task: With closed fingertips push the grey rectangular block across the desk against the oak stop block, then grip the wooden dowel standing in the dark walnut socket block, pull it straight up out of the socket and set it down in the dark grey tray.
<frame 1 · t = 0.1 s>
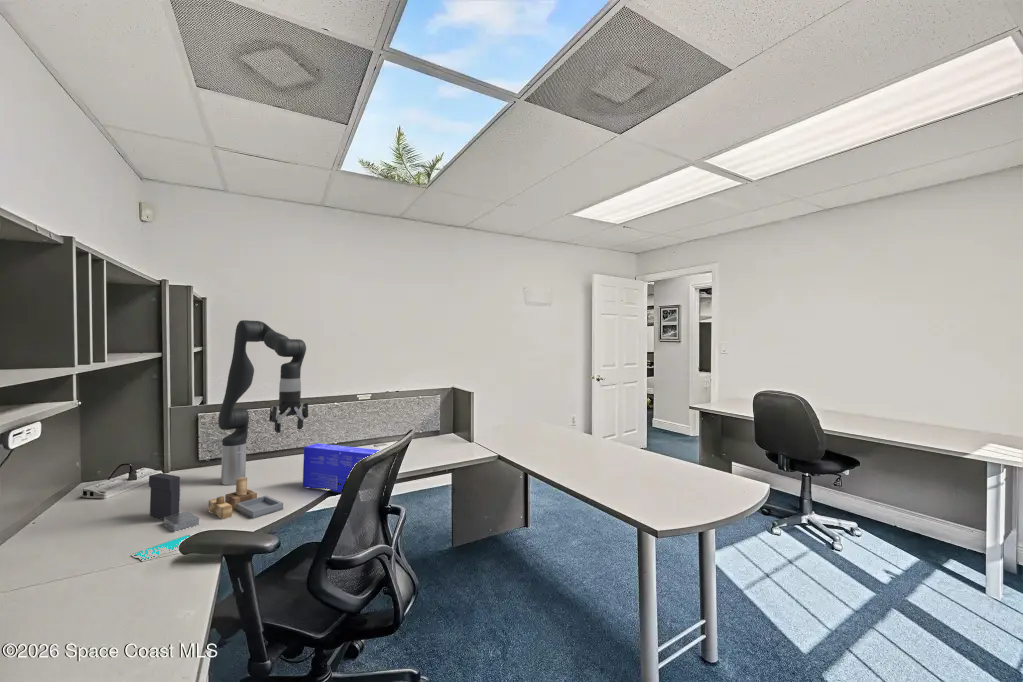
hand: (289, 430, 168), 29 cm above the table, tool pointing down, fingers open, 8 cm apart
dowel: (241, 491, 168), in the socket block
socket block: (241, 504, 168), on the table
tall lidded box: (164, 517, 154), on the table
stop block: (219, 513, 158), on the table
tray: (259, 509, 163), on the table
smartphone: (166, 550, 132), on the table
toner cartridge box: (345, 491, 186), on the table
grey rectangular block: (181, 526, 148), on the table
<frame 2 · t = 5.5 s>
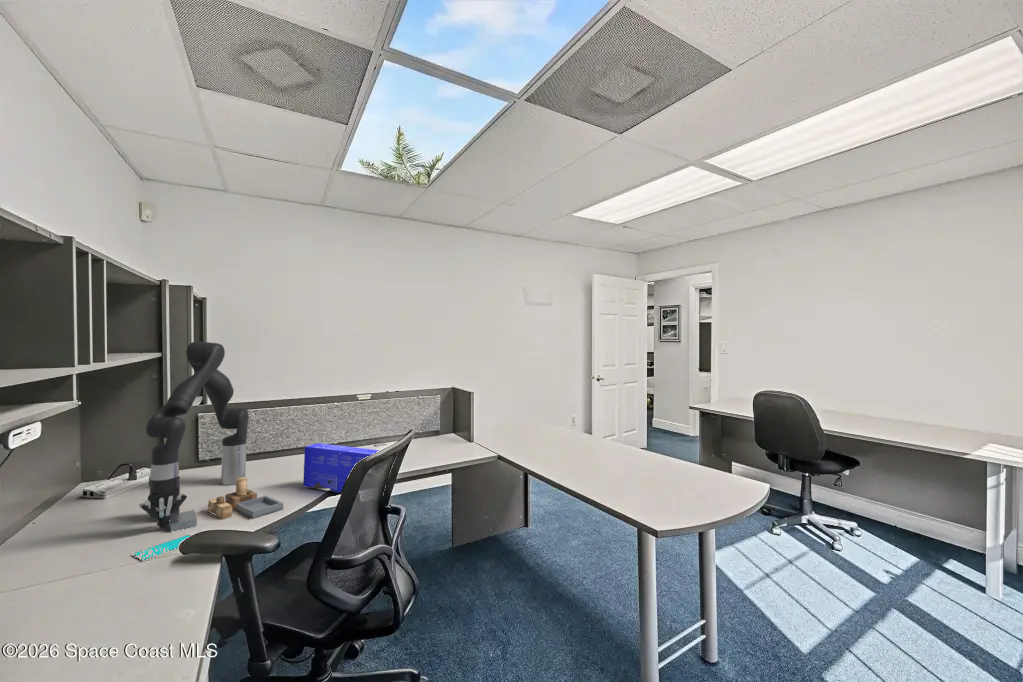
hand: (163, 527, 144), 1 cm above the table, tool pointing down, fingers closed
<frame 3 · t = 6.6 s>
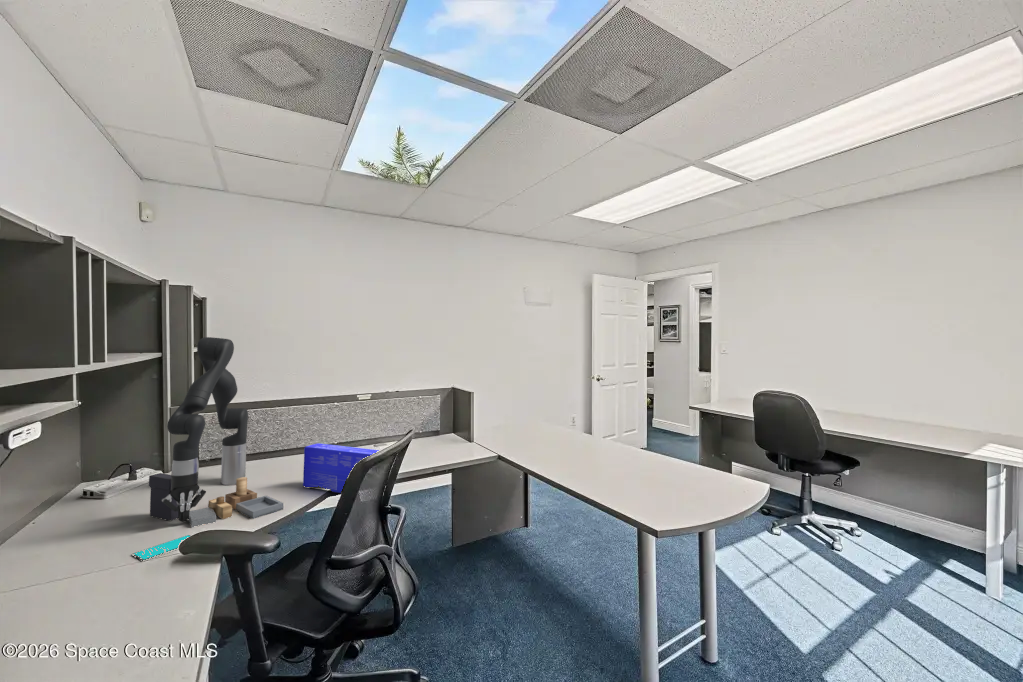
hand: (183, 521, 149), 1 cm above the table, tool pointing down, fingers closed
grey rectangular block: (201, 521, 153), on the table, touching gripper
everything else where it was.
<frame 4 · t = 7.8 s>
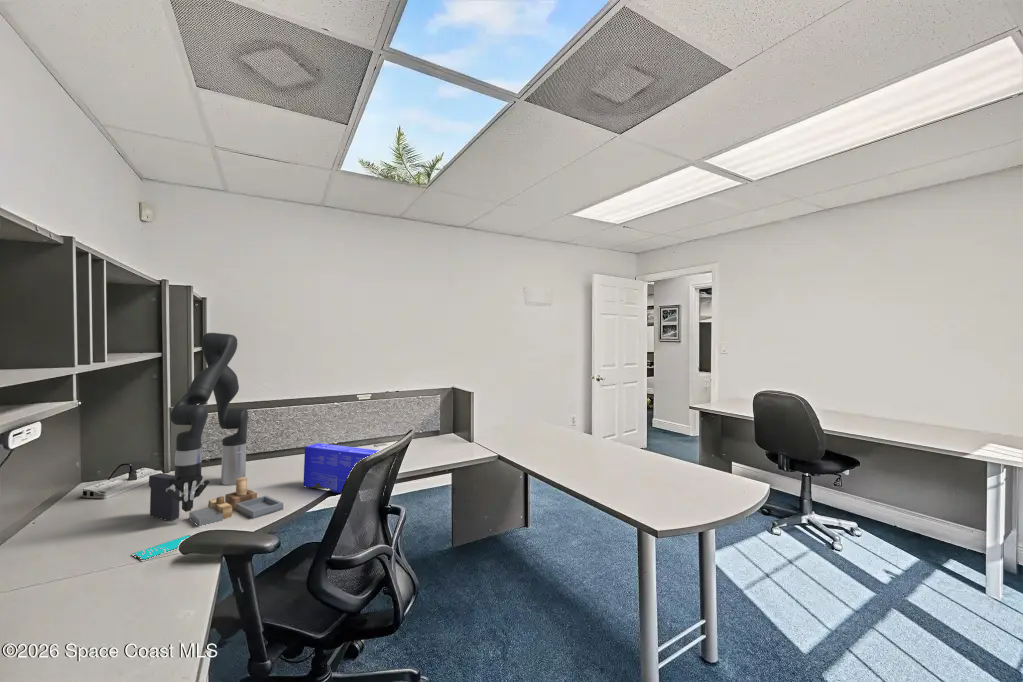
hand: (187, 510, 150), 4 cm above the table, tool pointing down, fingers closed
grey rectangular block: (205, 521, 153), on the table
everything else where it was.
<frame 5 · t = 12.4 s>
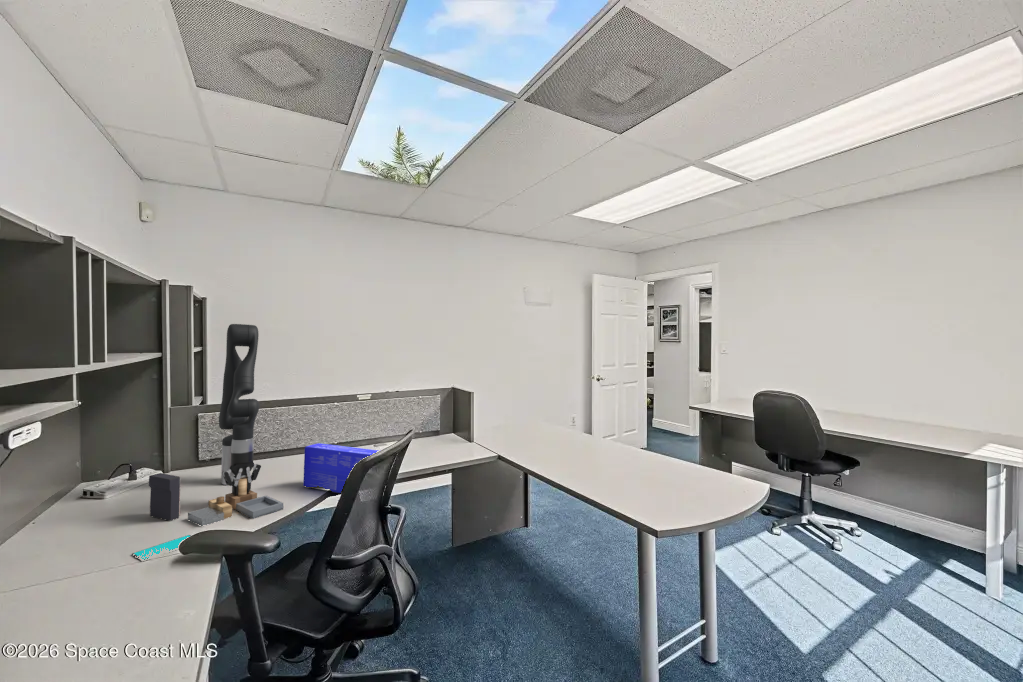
hand: (241, 493, 168), 4 cm above the table, tool pointing down, fingers closed on dowel, 3 cm apart
dowel: (241, 491, 168), in the socket block, touching gripper
everything else where it was.
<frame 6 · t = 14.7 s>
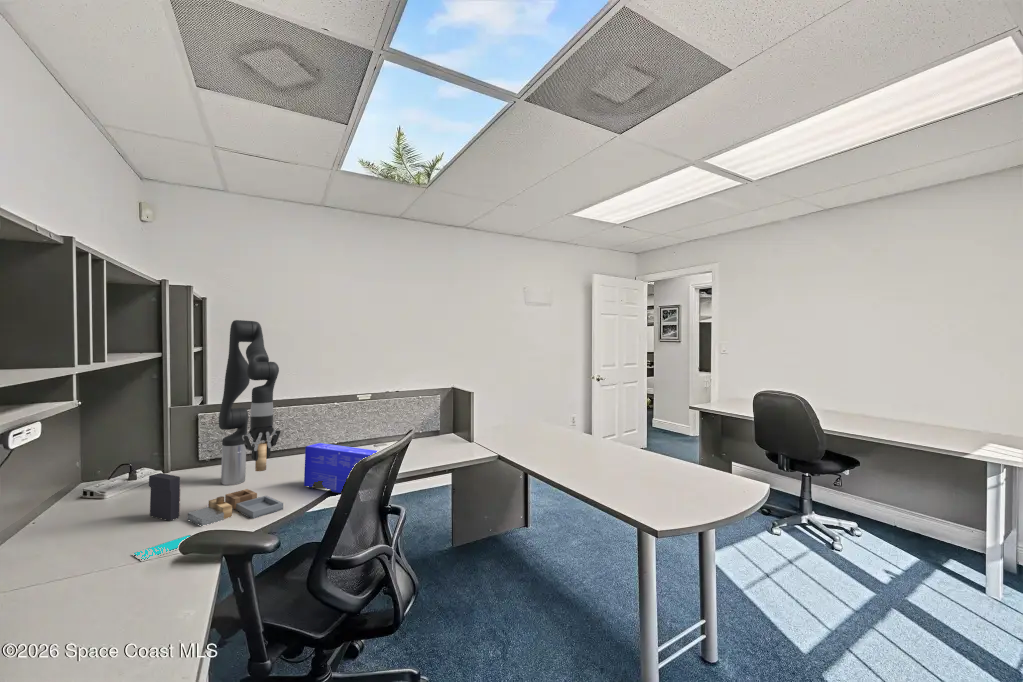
hand: (260, 458, 163), 19 cm above the table, tool pointing down, fingers closed on dowel, 3 cm apart
dowel: (261, 456, 163), point 20 cm above the table, touching gripper
everything else where it was.
when the fingers open (6 cm above the table, at t = 17.0 s): dowel drops 1 cm, resting on tray.
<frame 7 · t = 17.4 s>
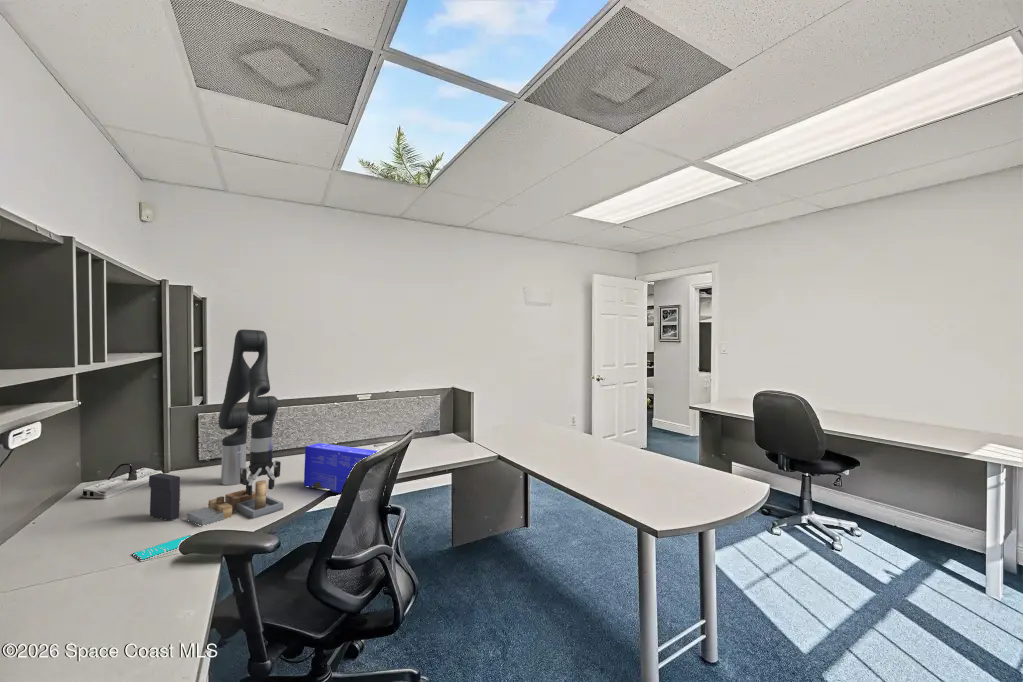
hand: (260, 491, 163), 7 cm above the table, tool pointing down, fingers open, 7 cm apart
dowel: (260, 495, 163), in the tray, point 6 cm above the table
everything else where it was.
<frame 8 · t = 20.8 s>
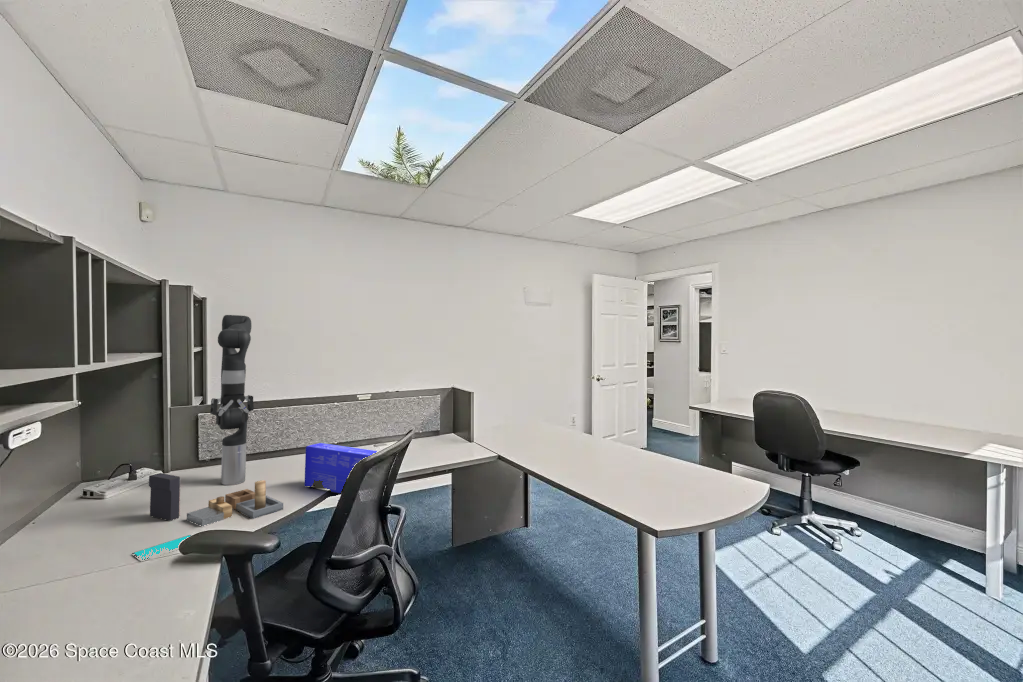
hand: (232, 423, 165), 32 cm above the table, tool pointing down, fingers open, 8 cm apart
at the end: dowel inside the target area on the tray (0.1 cm from its centre), point 5.6 cm above the tray's base; the gripper is holding nothing; grey rectangular block inside the target area (2.0 cm from its centre), on the table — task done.
